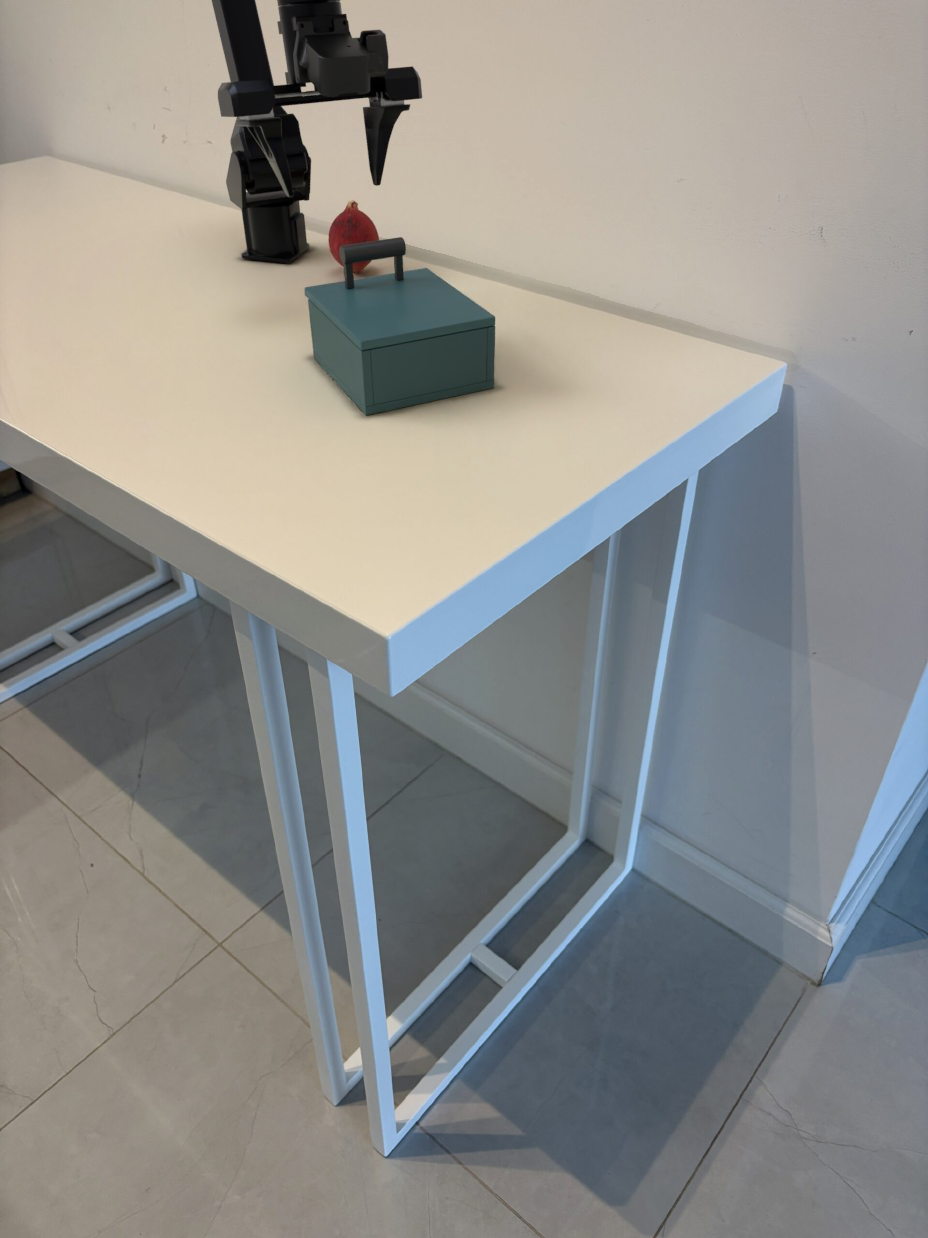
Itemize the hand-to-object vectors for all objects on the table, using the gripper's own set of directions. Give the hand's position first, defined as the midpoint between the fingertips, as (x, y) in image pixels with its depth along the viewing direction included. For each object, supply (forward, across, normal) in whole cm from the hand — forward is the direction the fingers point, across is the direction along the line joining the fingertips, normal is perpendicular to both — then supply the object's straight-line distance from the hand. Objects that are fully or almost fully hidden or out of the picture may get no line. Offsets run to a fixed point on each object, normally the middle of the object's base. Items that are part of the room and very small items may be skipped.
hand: (334, 190), depth 93 cm
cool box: (+15, -1, -16) cm, 21 cm away
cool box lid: (+9, -1, -16) cm, 18 cm away
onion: (+10, +5, +12) cm, 17 cm away
